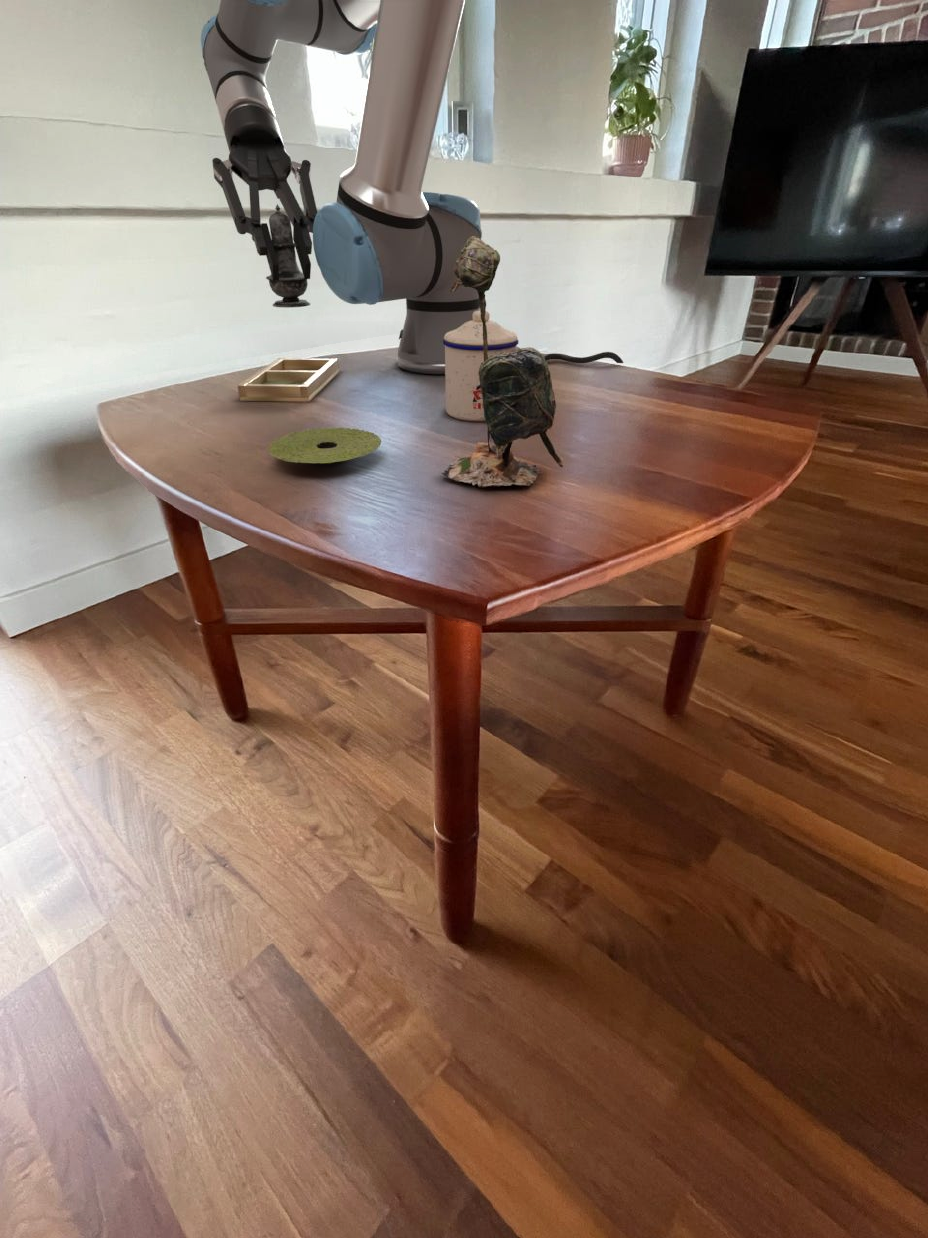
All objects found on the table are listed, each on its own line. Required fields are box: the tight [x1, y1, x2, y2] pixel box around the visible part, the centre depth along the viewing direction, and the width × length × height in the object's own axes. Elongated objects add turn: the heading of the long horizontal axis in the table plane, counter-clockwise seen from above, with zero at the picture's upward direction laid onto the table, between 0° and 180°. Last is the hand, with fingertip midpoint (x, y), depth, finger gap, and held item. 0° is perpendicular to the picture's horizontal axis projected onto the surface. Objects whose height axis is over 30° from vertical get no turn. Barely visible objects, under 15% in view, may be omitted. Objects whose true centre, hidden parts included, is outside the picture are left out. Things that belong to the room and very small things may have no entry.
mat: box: [268, 426, 382, 465], centre depth 63 cm, size 11×11×2 cm
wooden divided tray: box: [237, 357, 340, 403], centre depth 90 cm, size 10×18×2 cm, turn 177°
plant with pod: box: [441, 236, 565, 488], centre depth 54 cm, size 8×11×20 cm
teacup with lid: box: [443, 310, 521, 422], centre depth 76 cm, size 12×9×12 cm
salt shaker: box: [265, 204, 311, 309], centre depth 85 cm, size 6×6×12 cm
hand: (291, 271), depth 83 cm, fingers closed on salt shaker, 4 cm apart
